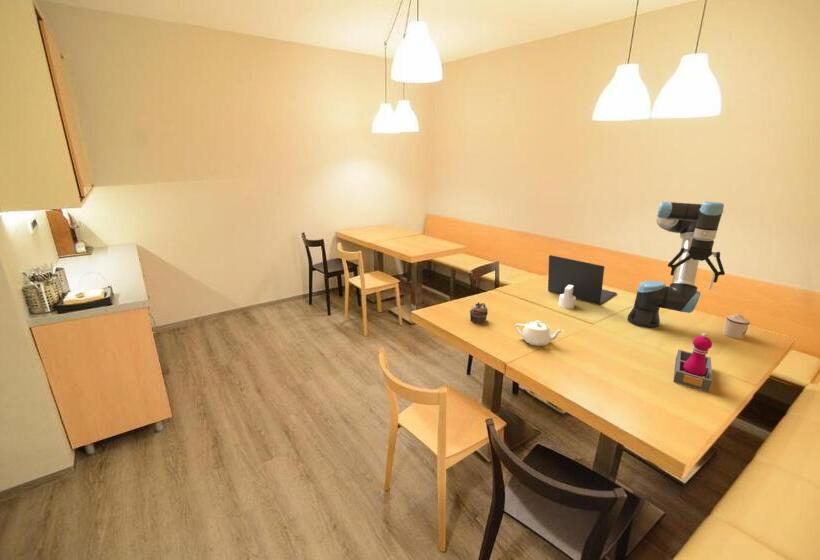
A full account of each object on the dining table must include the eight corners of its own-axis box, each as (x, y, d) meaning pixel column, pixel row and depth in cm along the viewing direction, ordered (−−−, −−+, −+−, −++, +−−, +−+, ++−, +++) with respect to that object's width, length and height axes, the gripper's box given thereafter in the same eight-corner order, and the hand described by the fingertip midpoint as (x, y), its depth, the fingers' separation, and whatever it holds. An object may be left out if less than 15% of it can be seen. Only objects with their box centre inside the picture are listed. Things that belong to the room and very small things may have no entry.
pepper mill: (676, 372, 156) (689, 329, 149) (693, 372, 156) (706, 329, 150) (690, 383, 149) (704, 338, 142) (707, 382, 149) (721, 337, 143)
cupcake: (485, 316, 209) (487, 300, 206) (487, 324, 200) (489, 307, 197) (468, 316, 210) (469, 299, 207) (469, 323, 201) (470, 306, 197)
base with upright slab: (560, 301, 233) (563, 283, 229) (575, 305, 228) (579, 286, 224) (556, 306, 226) (559, 287, 222) (572, 309, 221) (575, 290, 217)
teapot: (511, 342, 181) (513, 322, 177) (516, 331, 193) (518, 312, 189) (559, 353, 172) (563, 332, 169) (562, 340, 184) (565, 320, 180)
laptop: (616, 294, 247) (624, 256, 239) (596, 308, 224) (604, 266, 216) (566, 282, 270) (572, 246, 261) (543, 293, 247) (549, 255, 238)
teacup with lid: (746, 341, 187) (754, 319, 183) (723, 336, 191) (730, 315, 187) (741, 331, 197) (748, 311, 193) (719, 327, 201) (725, 307, 197)
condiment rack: (673, 382, 151) (676, 371, 150) (675, 359, 169) (678, 349, 167) (708, 392, 145) (712, 381, 143) (707, 367, 162) (710, 357, 161)
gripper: (668, 236, 165) (657, 282, 172) (742, 244, 151) (726, 294, 158) (669, 233, 171) (658, 278, 177) (740, 241, 157) (725, 289, 164)
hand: (690, 285), depth 168 cm, fingers open, 13 cm apart
